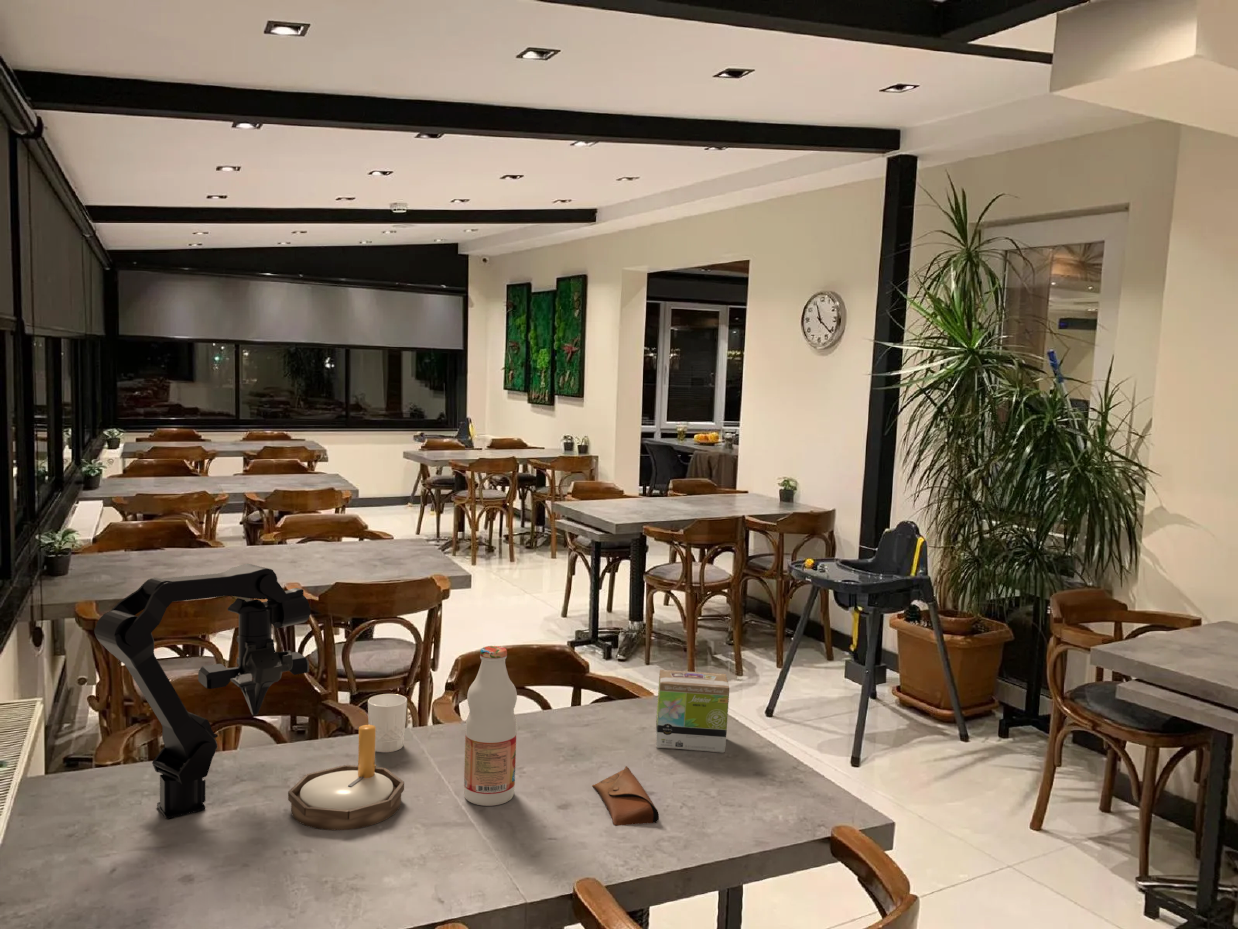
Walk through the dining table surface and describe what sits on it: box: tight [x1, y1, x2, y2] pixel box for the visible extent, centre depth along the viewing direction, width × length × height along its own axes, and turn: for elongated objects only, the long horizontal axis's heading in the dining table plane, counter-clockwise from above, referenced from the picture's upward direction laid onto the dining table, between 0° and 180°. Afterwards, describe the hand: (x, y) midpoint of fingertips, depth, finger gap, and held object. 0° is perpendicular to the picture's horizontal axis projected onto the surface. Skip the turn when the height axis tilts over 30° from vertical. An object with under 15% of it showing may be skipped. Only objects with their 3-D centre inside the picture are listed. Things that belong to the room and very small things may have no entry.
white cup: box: [367, 693, 408, 753], centre depth 199 cm, size 8×8×10 cm
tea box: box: [655, 669, 730, 754], centre depth 208 cm, size 15×10×15 cm
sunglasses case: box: [591, 766, 660, 827], centre depth 178 cm, size 18×7×7 cm
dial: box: [300, 724, 393, 810], centre depth 171 cm, size 16×16×10 cm
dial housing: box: [287, 764, 405, 831], centre depth 172 cm, size 19×19×4 cm
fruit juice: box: [463, 645, 518, 807], centre depth 177 cm, size 9×9×28 cm
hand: (254, 714), depth 179 cm, fingers closed
